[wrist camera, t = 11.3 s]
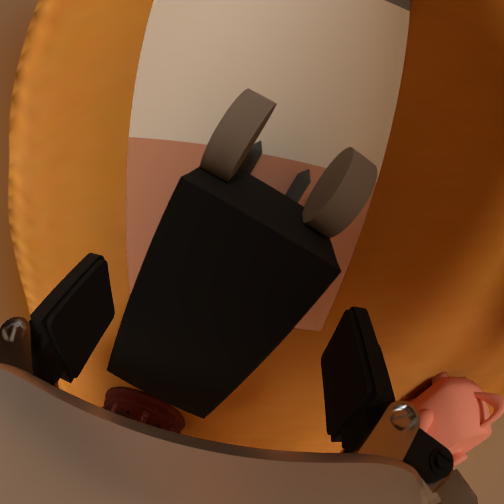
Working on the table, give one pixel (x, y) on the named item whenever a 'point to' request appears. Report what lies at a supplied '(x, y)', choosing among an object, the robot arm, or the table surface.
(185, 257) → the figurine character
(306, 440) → the table surface
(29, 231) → the table surface
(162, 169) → the game board
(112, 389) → the lantern
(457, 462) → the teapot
